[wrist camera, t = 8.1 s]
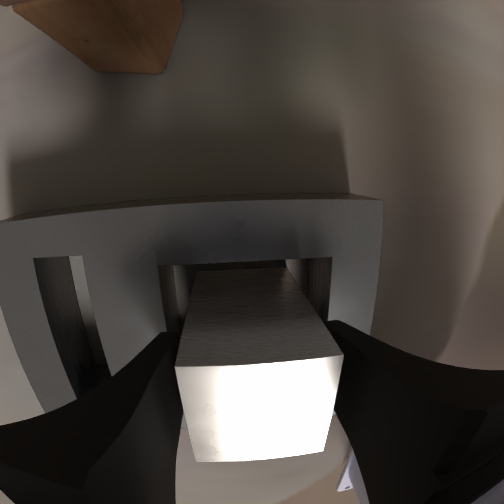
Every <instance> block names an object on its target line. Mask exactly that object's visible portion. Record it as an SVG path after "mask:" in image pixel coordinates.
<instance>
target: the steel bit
mask: <svg viewBox="0 0 504 504" xmlns="http://www.w3.org/2000/svg"><path fill="white" fill-rule="evenodd" d="M343 357H344V354H343V353H342V351H341V350H340V348H339V347H338V345H337V343H336V342H335V340H334V339H333V337H332V336H331V334H330V333H329V331H328V329H327V328H326V326H325V325H324V323H323V322H322V320H321V319H320V317H319V316H318V314H317V312H316V311H315V309H314V308H313V306H312V305H311V303H310V302H309V300H308V299H307V297H306V296H305V294H304V293H303V291H302V290H301V288H300V287H299V285H298V283H297V282H296V280H295V279H294V277H293V276H292V274H291V273H290V271H289V270H288V268H287V267H283V268H262V269H239V270H214V271H197V273H196V277H195V281H194V285H193V289H192V293H191V297H190V301H189V305H188V310H187V314H186V318H185V322H184V327H183V331H182V336H181V340H180V345H179V349H178V354H177V358H176V363H175V371H176V376H177V381H178V386H179V391H180V396H181V401H182V405H183V410H184V414H185V419H186V423H187V427H188V431H189V436H190V440H191V444H192V447H193V451H194V455H195V459H196V462H223V461H245V460H259V459H269V458H278V457H287V456H294V455H301V454H307V453H313V452H319V451H323V448H324V444H325V440H326V437H327V433H328V429H329V424H330V420H331V416H332V412H333V407H334V403H335V398H336V393H337V389H338V384H339V378H340V373H341V368H342V362H343Z"/></svg>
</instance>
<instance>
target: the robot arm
mask: <svg viewBox="0 0 504 504" xmlns="http://www.w3.org/2000/svg"><path fill="white" fill-rule="evenodd" d="M323 323H324V325H325V326H326V328H327V329H328V331H329V333H330V334H331V336H332V337H333V339H334V340H335V342H336V343H337V345H338V347H339V348H340V350H341V351H342V353H343V354H344V357H343V362H342V368H341V373H340V378H339V384H338V389H337V393H336V398H335V403H334V407H333V409H334V411H335V413H336V415H337V417H338V419H339V421H340V423H341V425H342V426H343V428H344V430H345V432H346V434H347V436H348V439H349V441H350V443H351V446H352V448H351V451H350V454H349V456H348V459H347V462H346V464H345V467H344V470H343V472H342V475H341V477H340V480H339V482H338V484H337V487H336V489H337V491H344V490H347V489H350V488H353V489H354V491H355V493H356V496H357V498H358V500H359V502H360V504H504V370H479V369H469V368H462V367H455V366H451V365H446V364H442V363H438V362H434V361H430V360H427V359H424V358H421V357H418V356H415V355H412V354H409V353H407V352H404V351H402V350H399V349H397V348H395V347H392V346H390V345H388V344H386V343H384V342H382V341H380V340H378V339H376V338H374V337H372V336H370V335H368V334H366V333H364V332H362V331H360V330H358V329H356V328H354V327H352V326H350V325H348V324H346V323H344V322H342V321H340V320H331V321H323ZM179 345H180V341H179V334H178V332H160V333H159V334H158V335H157V336H156V337H155V338H154V339H153V340H152V341H151V342H150V343H149V344H148V345H147V346H146V347H145V348H144V349H143V350H142V351H141V352H140V353H138V354H137V355H136V356H135V357H134V358H133V359H132V360H131V361H130V362H129V363H128V364H126V365H125V366H124V367H123V368H122V369H120V370H119V371H118V372H117V373H116V374H114V375H113V376H112V377H111V378H109V379H108V380H107V381H105V382H104V383H102V384H101V385H99V386H98V387H96V388H95V389H93V390H92V391H90V392H89V393H87V394H85V395H83V396H81V397H79V398H78V399H76V400H74V401H72V402H70V403H68V404H66V405H64V406H62V407H60V408H57V409H55V410H53V411H50V412H48V413H45V414H42V415H39V416H37V417H33V418H30V419H27V420H23V421H19V422H15V423H10V424H6V425H1V426H0V490H1V491H2V492H3V493H4V494H5V495H6V496H7V497H9V499H11V500H12V501H13V502H14V503H15V504H176V501H175V472H176V455H177V448H178V442H179V435H180V429H181V424H182V418H183V412H184V410H183V405H182V401H181V396H180V391H179V386H178V381H177V376H176V371H175V363H176V358H177V354H178V349H179Z"/></svg>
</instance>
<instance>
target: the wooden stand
mask: <svg viewBox="0 0 504 504" xmlns="http://www.w3.org/2000/svg"><path fill="white" fill-rule="evenodd" d="M0 5H2V6H10V5H13V6H12V8H13V10H14V12H16V13H17V14H19V15H20V16H21V17H23V18H24V19H26V20H27V21H29V22H30V23H31V24H33V25H34V26H36V27H37V28H38V29H40V30H41V31H43V32H44V33H45V34H47V35H48V36H49V37H51V38H52V39H54V40H55V41H56V42H58V43H59V44H60V45H62V46H63V47H64V48H66V49H67V50H68V51H70V52H71V53H72V54H74V55H75V56H76V57H78V58H79V59H80V60H81V61H83V62H84V63H85V64H87V65H88V66H89V67H91V68H92V69H93V70H95V71H112V72H133V73H146V74H160V73H162V72H163V70H164V69H165V68H166V65H167V61H168V58H169V55H170V52H171V50H172V47H173V44H174V41H175V38H176V35H177V33H178V30H179V27H180V25H181V22H182V19H183V17H184V11H183V6H182V1H181V0H0Z"/></svg>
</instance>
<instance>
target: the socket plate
mask: <svg viewBox="0 0 504 504" xmlns="http://www.w3.org/2000/svg"><path fill="white" fill-rule="evenodd" d="M383 215H384V200H381V199H376V198H371V197H366V196H360V195H355V194H343V193H280V194H240V195H216V196H196V197H180V198H165V199H152V200H140V201H128V202H118V203H108V204H98V205H89V206H80V207H72V208H64V209H56V210H49V211H42V212H35V213H28V214H22V215H18V216H14V217H11V218H8V219H4V220H1V221H0V306H1V309H2V312H3V315H4V319H5V322H6V325H7V328H8V331H9V333H10V336H11V339H12V342H13V344H14V347H15V350H16V352H17V355H18V357H19V359H20V362H21V364H22V367H23V369H24V371H25V373H26V376H27V378H28V380H29V382H30V384H31V386H32V388H33V390H34V392H35V394H36V396H37V398H38V400H39V402H40V404H41V406H42V408H43V410H44V412H45V413H48V412H50V411H53V410H55V409H57V408H60V407H62V406H64V405H66V404H68V403H70V402H72V401H74V400H76V399H78V398H79V397H81V396H83V395H85V394H87V393H89V392H90V391H92V390H93V389H95V388H96V387H98V386H99V385H101V384H102V383H104V382H105V381H107V380H108V379H109V378H111V377H112V376H113V375H114V374H116V373H117V372H118V371H119V370H120V369H122V368H123V367H124V366H125V365H126V364H128V363H129V362H130V361H131V360H132V359H133V358H134V357H135V356H136V355H137V354H138V353H140V352H141V351H142V350H143V349H144V348H145V347H146V346H147V345H148V344H149V343H150V342H151V341H152V340H153V339H154V338H155V337H156V336H157V335H158V334H159V333H160V332H178V334H179V341H180V340H181V336H182V335H181V328H180V321H179V314H178V306H177V298H176V290H175V281H174V272H173V265H185V264H206V263H226V262H246V261H265V260H283V259H302V258H308V268H307V293H306V297H307V299H308V300H309V302H310V303H311V305H312V306H313V308H314V309H315V311H316V312H317V314H318V316H319V317H320V319H321V320H322V322H323V321H331V320H340V321H342V322H344V323H346V324H348V325H350V326H352V327H354V328H356V329H358V330H360V331H362V332H364V333H366V334H368V335H370V332H371V326H372V320H373V314H374V307H375V300H376V293H377V285H378V276H379V267H380V257H381V246H382V232H383ZM77 255H82V256H83V263H84V268H85V274H86V279H87V285H88V290H89V294H90V299H91V304H92V308H93V312H94V316H95V320H96V324H97V328H98V332H99V336H100V340H101V343H102V347H103V350H104V353H105V357H106V360H107V363H108V366H109V367H100V366H96V365H95V362H94V359H93V355H92V352H91V349H90V346H89V342H88V339H87V336H86V332H85V329H84V325H83V321H82V317H81V313H80V309H79V305H78V301H77V297H76V292H75V288H74V283H73V278H72V273H71V267H70V262H69V256H77ZM335 414H336V413H335V411H334V409H333V412H332V415H335ZM181 429H188V427H187V423H186V419H185V414H184V412H183V418H182V424H181Z"/></svg>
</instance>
